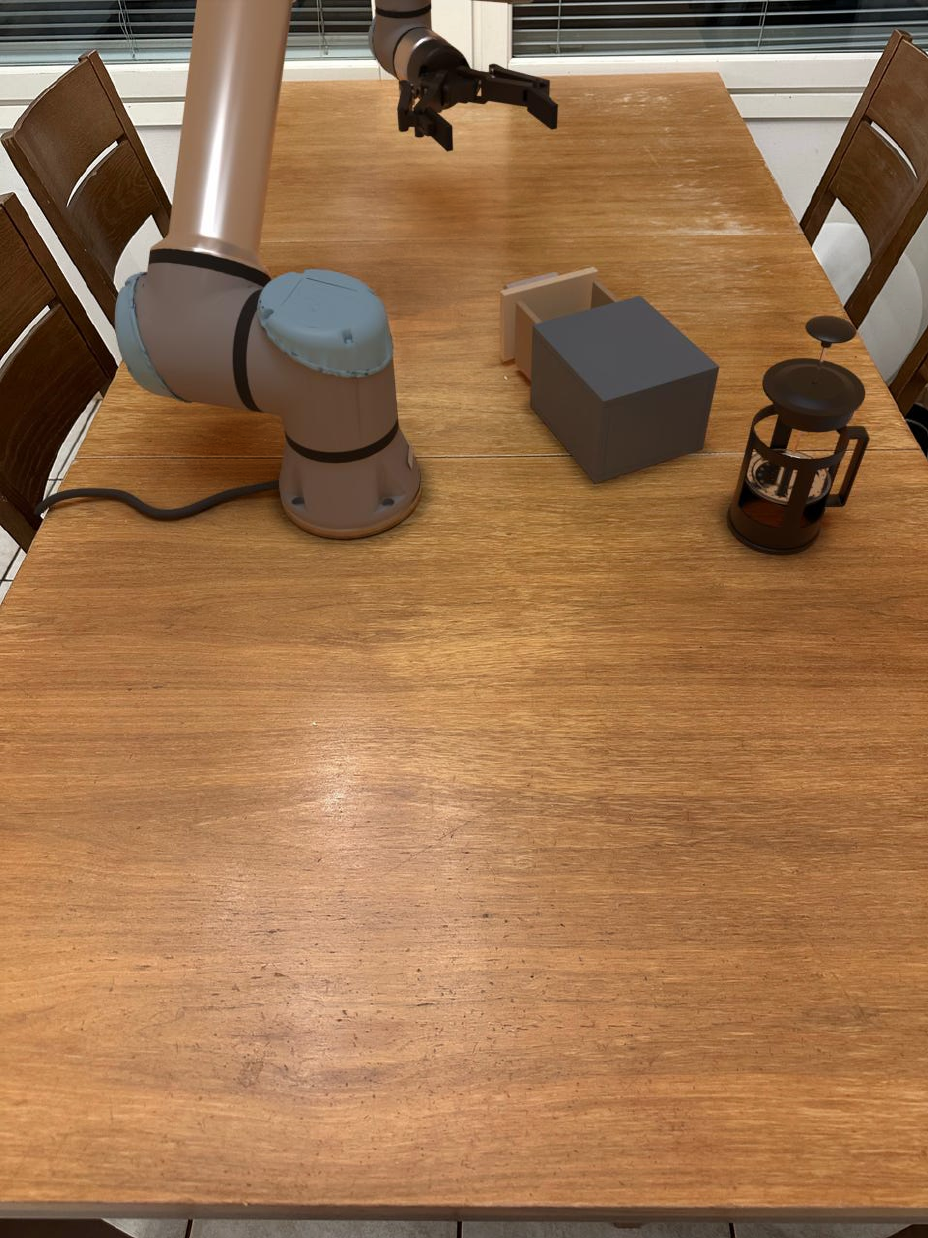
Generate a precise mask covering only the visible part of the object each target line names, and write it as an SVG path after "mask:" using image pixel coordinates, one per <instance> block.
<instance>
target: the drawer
mask: <svg viewBox="0 0 928 1238" xmlns="http://www.w3.org/2000/svg"><path fill="white" fill-rule="evenodd" d="M618 301H621V300H620V298H618V296H616V295H615V294H614V293H613V292H612V291H611V290H610V289H609V288H607V287H606V286H605V285H604V283H602V281H600V280H599V270H598V269H597V268H596V267H595V266H591V267H586V268H583V269H579V270H575V271H571V272H567V273H564V274H560V275H559V273H558V272H557V271H551V272H548V273H545V274H540V275H536V276H533V277H530V278H525V279H521V280H518V281H517V280H516V281H513V282H510V283H506V284H504V285H503V289H502V290H500V291H499V358H500V359H501V360H502V361H503V362H505V361H509V360H513V359H514V364H515V365H516V366H517V367H518V369H519V370H520V371H521V373H523V375H524V376H525V377H526V378H527V379H528V381H530V382H531V357H532V325H533V324H537V323H541V322H545V321H548V320H552V319H556V318H559V317H563V316H567V315H570V314H574V313H578V312H581V311H585V310H589V309H592V308H596V307H600V306H603V305H607V304H611V303H615V302H618Z"/></svg>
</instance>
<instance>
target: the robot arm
mask: <svg viewBox="0 0 928 1238" xmlns="http://www.w3.org/2000/svg"><path fill="white" fill-rule="evenodd" d="M296 1H297V0H196V5H195V15H194V22H193V31H192V39H191V47H190V54H189V55H190V56H189V64H188V72H187V81H186V87H185V95H184V96H185V97H184V103H183V104H184V105H183V113H182V121H181V129H180V139H179V145H178V154H177V162H176V170H175V178H174V185H173V187H174V188H173V194H172V204H171V211H170V220H169V227H168V233H167V235H166V236H165V237H164V238H162V239H161V240H159V241H157V242H156V243H155V244H154V245H152V246H151V247H150V249H149V252H148V253H149V255H148V262H147V268H146V269H147V270H146V271H139V272H138V273H134V274H132V275H130V276H129V277H128V278H127V279H126V280H125V281H124V286H121V288H120V289H119V291H118V293H117V298H116V302H115V307H114V308H115V309H114V331H115V339H116V343H117V347H118V351H119V353H120V356H121V359H122V361H123V363H124V365H125V366H126V369H127V371H128V374H130V377H131V378H132V379H133V380H134V381H135V383H137V385H139V386H140V387H141V388H142V389H143V390H145V391H147V392H148V393H150V394H152V395H156V396H159V397H165V398H170V399H174V400H176V401H178V402H180V403H181V402H182V403H185V404H193V403H194V404H195V403H196V404H201V405H202V404H203V405H209V406H216V407H222V408H228V409H235V410H242V411H247V412H254V413H261V414H267V415H274V416H278V417H280V419H281V423H282V427H283V432H284V436H285V445H284V450H283V455H282V461H281V468H280V471H279V478H278V479H274V480H269V481H264V482H260V483H254V484H249V485H244V486H239V487H235V488H230V489H226V490H224V491H220V492H218V493H216V494H213V495H210V496H208V497H206V498H203V499H201V500H198V501H196V502H194V503H191V504H188V505H185V506H182V507H178V508H170V509H169V508H167V509H166V508H157V507H154V506H151V505H149V504H147V503H145V502H144V501H143V500H141V499H139V498H138V497H137V496H135V495H133V494H131V493H130V492H127V491H125V490H122V489H118V488H117V489H116V488H106V487H105V488H103V487H79V488H70V489H65V490H60V491H58V492H55V493H53V494H51V495H49V496H47V497H46V498H44V499H42V501H40V502H39V503H38V504H37V505H36V507H35V508H34V510H33V514H34V515H42V514H45V512H46V511H47V510H48V509H49V508H50V507H52V506H54V505H56V504H58V503H60V502H63V501H67V500H70V499H78V498H79V499H80V498H105V499H117V500H121V501H123V502H126V503H127V504H129V505H131V506H132V507H133V508H135V509H136V510H138V511H139V512H140V513H142V514H144V515H146V516H149V517H151V518H156V519H163V520H165V519H167V520H168V519H169V520H171V519H180V518H183V517H184V518H185V517H188V516H191V515H193V514H197V513H199V512H201V511H203V510H205V509H209V508H210V507H212V506H215V505H218V504H220V503H223V502H226V501H228V500H232V499H236V498H241V497H245V496H251V495H255V494H260V493H265V492H270V491H275V490H278V492H279V497H280V501H281V506H282V509H283V511H284V513H285V515H286V516H287V518H288V519H289V520H290V521H291V522H292V523H293V524H295V525H296V526H297V527H299V528H300V529H302V530H304V531H305V532H308V533H310V534H312V535H315V536H318V537H323V538H329V539H339V540H340V539H341V540H350V539H359V538H364V537H370V536H373V535H376V534H380V533H382V532H385V531H388V530H389V529H391V528H393V527H395V526H396V525H398V524H400V523H402V522H403V520H405V519H406V518H407V517H408V516H409V515H410V514H411V513H412V512H413V511H414V509H415V508H416V506H417V505H418V503H419V501H420V498H421V495H422V477H421V476H422V475H421V469H420V466H419V463H418V460H417V458H416V456H415V453H414V447H413V446H414V445H413V444H412V442H411V441H409V442H408V441H407V438H406V436H405V435H404V433H403V431H402V428H401V427H400V422H399V410H398V399H397V387H396V377H395V374H396V373H395V365H394V341H393V336H392V333H391V331H390V329H391V328H390V324H389V319H388V312H387V309H386V307H385V304H384V301H382V299H381V298H380V297H379V296H378V295H377V293H376V292H375V290H374V289H372V288H371V287H370V286H369V285H367V284H366V282H365V283H364V282H363V281H362V280H360V279H358V278H357V277H353V276H351V275H348V274H346V273H343V272H339V271H334V270H329V269H319V268H309V269H308V268H307V269H304V270H303V272H302V273H300V272H297V271H294V270H293V271H289V272H286V273H283V274H279V276H276V277H275V278H273V279H272V274H271V272H270V271H269V269H268V268H267V267H266V265H265V264H264V263H263V261H262V259H261V256H260V249H261V248H260V247H261V240H262V233H263V226H264V218H265V211H266V203H267V195H268V188H269V181H270V180H269V179H270V175H271V174H270V172H271V166H272V160H273V159H272V158H273V151H274V145H275V144H274V142H275V137H276V136H275V135H276V127H277V121H278V114H279V113H278V112H279V106H280V99H281V90H282V84H283V76H284V68H285V62H286V54H287V53H286V52H287V46H288V39H289V30H290V24H291V18H292V17H291V15H292V8H293V3H295V2H296ZM471 1H473V2H474V1H475V2H484V3H485V2H487V3H498V4H499V3H500V4H507V5H510V6H512V5H513V4H530V3H532V2H534V0H471ZM374 7H375V9H374V17H373V19H372V21H371V23H370V26H369V28H368V33H367V34H368V35H367V40H368V46H369V50H370V52H371V54H372V56H373V58H374V59H375V60H376V61H377V63H378V64H379V65H380V67H381V68H382V69H383V71H385V72H386V73H387V74H389V75H391V76H393V77H394V78H395V79H396V80H397V81H398V93H399V94H398V95H399V99H398V103H397V108H396V112H397V127H398V131H399V132H401V133H406V132H408V131H409V130H410V128H413V129H414V137H415V138H417V139H421V138H424V137H428V138H429V137H431V138H432V139H433V140H434V141H435V142H436V143H437V144H439V146H440V147H441V148H443V149H444V150H445V151H446V152H452V151H454V134H453V133H454V131H453V125H452V124H451V123H450V122H449V121H447V120H446V119H445V118H444V117H443V116H442V115H441V114H442V112H443V111H445V110H449V109H451V108H453V107H455V106H456V105H457V104H465V105H466V104H468V103H471V104H476V105H477V104H478V105H486V104H487V103H489V102H492V103H497V104H498V103H499V104H505V105H510V106H512V105H513V106H518V107H525V108H526V112H528V113H529V114H530V115H531V116H533V117H534V118H535V119H536V120H538V121H539V122H540V123H542V124H543V125H544V126H545V127H547V128H548V129H550V130H551V131H553V130H558V116H559V115H558V114H559V104H558V103H557V102H556V101H554V100H553V99H552V97H551V96H550V95H551V94H550V91H551V80H550V79H547V78H543V77H540V76H535V75H532V74H527V73H525V72H520V71H517V70H512V69H508V68H506V67H504V66H501V65H499V64H496V63H489V64H488V71H484V70H478V69H474V68H472V67H471V66H470V63H469V62H468V60H467V58H466V56H465V55H464V54H463V52H461V50H459V49H458V48H457V47H455V46H454V45H453V44H451V43H450V42H449V41H448V40H447V39H445V38H444V37H443V36H442V35H440V34H438V33H437V32H436V31H434V30H433V23H432V8H433V7H432V0H374ZM479 92H480V95H478V94H479ZM417 99H418V101H417V103H416V100H417Z"/></svg>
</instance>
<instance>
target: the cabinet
mask: <svg viewBox="0 0 928 1238" xmlns="http://www.w3.org/2000/svg"><path fill="white" fill-rule="evenodd" d="M719 371H720V365H719V364H717V363H716V362H715V361H714V360H713V359H712V358H711V357H709V356H708V355H707V354H706V353H705V351H703V350H702V349H701V348H700V347H699V346H697V345H696V344H695V343H694V341H692V340H691V339H690V338H688V337H687V336H686V334H684V333H683V332H682V331H681V330H680V329H678V327H676V326H675V325H674V324H673V323H672V322H670V320H669V319H667V317H665V316H664V315H663V314H662V313H661V312H660V311H658V310H657V309H656V308H655V307H654V306H653V305H651V303H649V302H648V300H646V299H645V298H644V297H643V296H642V295H637V296H633V297H630V298H626V299H622V300H620V301H618V302H615V303H611V304H607V305H603V306H600V307H596V308H592V309H589V310H585V311H581V312H578V313H574V314H570V315H567V316H563V317H559V318H556V319H552V320H548V321H545V322H541V323H537V324H533V325H532V357H531V381H530V390H529V391H530V392H529V406H530V408H531V409H532V410H533V411H534V412H535V414H536V415H537V416H538V417H539V418H540V420H541V421H542V423H544V424H545V426H546V427H547V428H548V430H549V431H550V432H551V433H552V434H553V435H554V436H555V438H556V439H557V441H558V442H559V443H560V444H561V445H562V446H563V447H564V448H565V450H566V451H567V452H568V454H570V456H571V457H572V458H573V459H574V460H575V462H576V463H577V464H578V465H579V467H580V468H581V469H582V470H583V471H584V473H585V474H586V475H587V476H588V478H589V479H590V480H591V481H592V482H593V484H594V485H597V484H600V483H602V482H606V481H608V480H612V479H615V478H618V477H620V476H624V475H627V474H630V473H634V472H636V471H640V470H642V469H646V468H649V467H652V466H655V465H658V464H661V463H664V462H667V461H670V460H673V459H676V458H677V459H678V458H680V457H682V456H686V455H689V454H691V453H695V452H698V451H701V450H703V449H704V444H705V440H706V434H707V429H708V424H709V420H710V415H711V410H712V405H713V401H714V396H715V390H716V385H717V381H718V376H719Z"/></svg>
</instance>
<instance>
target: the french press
mask: <svg viewBox="0 0 928 1238" xmlns="http://www.w3.org/2000/svg"><path fill="white" fill-rule="evenodd" d="M804 327H805V331H806V333H807V334H808V335H809V336H810V337H811V338H813V339H814V340H817V341H820V346H821V347H822V349H821V353H820V356H819V359H818V358H811V357H798V358H796V357H795V358H790V359H785V360H782V361H779V362H776V363H774V364H773V365H771V366H770V367H769V368H768V369H766V371H765V373H764V375H763V376H762V381H761V382H762V384H761V385H762V390H763V392H764V394H765V396H766V397H767V399H769V400H770V402H771V404H769V405H768V404H767V405H766V406H764V407H762V408H760V409H759V410H758V411H757V412H756V413H755V415H754V416H753V418H752V421H751V425H750V429H749V434H748V439H747V441H746V446H745V450H744V454H743V459H742V462H741V467H740V470H739V475H738V478H737V483H736V486H735V489H734V493H733V497H732V501H731V503H730V505H729V507H728V509H727V513H726V524H727V527H728V529H729V531H730V533H731V534H732V536H733V537H734V538H736V539H737V541H738V542H740V543H742V545H745V546H746V547H748V548H750V549H752V550H753V551H754V550H755V551H757V552H759V553H763V554H767V555H768V554H769V555H776V556H786V555H787V556H788V555H795V554H799V553H802V552H804V551H806V550H808V549H809V548H811V547H812V546H813V545H814V544H815V543H816V542H817V540H818V538H819V536H820V533H821V528H822V527H821V523H822V521H823V518H824V516H825V511H826V508H844V507H845V506H846V504H847V502H848V500H849V496H850V494H851V491H852V488H853V485H854V483H855V480H856V477H857V474H858V472H859V469H860V466H861V465H862V461H863V459H864V455H865V453H866V450H867V449H868V445H869V443H870V436H869V433H868V430H867V428H866V427H865V426H864V425H848V424H849V423H850V421H852V418H853V417H854V414H855V412H856V411H857V410H859V409H860V408H861V407H862V405H863V403H864V401H865V399H866V388H865V385H864V383H863V382H862V380H861V379H860V378H859V377H858V376H857V375H856V373H854V372H853V371H851V370H850V369H848V368H846V367H844V366H842V365H839V364H837V363H835V362H831V361H829V360H825V357H826V353H827V350H828V349H830V348H831V347H832V345H833V344H844V343H847V342H850V341H853V340H854V338H856V336H857V329H856V327H855V325H854V324H853V323H851V322H850V321H849V320H846V319H845V318H842V317H839V316H834V315H818V316H814V317H812V318H810V319H808V320H807V322H806V323H805V326H804ZM772 416H777V419H776V422H775V425H774V430H773V431H772V432H773V433H772V436H771V439H770V444H769V446H768V445H767V444H765V443H764V442H763V440H761V438H760V437H759V436H758V434H757V432H756V430H755V426H756V425H758V423H759V422H761V421H763V420H764V419H767V418H769V417H772ZM793 430H796V431H797V434H796V438H795V441H794V444H793V448H792V449H788V446H789V442H790V439H791V435H792V432H793ZM834 431H836V432H837V434H838V435H839V436H838V439H837V442H836V445H835V449H834V452H833V454H831V455H828V456H824V457H818V458H814V457H813V456H811V455H809V454H806V453H804V452H801V451H798V450H797V449H798V446H799V443H800V440H801V436H802V433H803V432H805V433H815V434H819V433H820V434H821V433H828V432H834ZM854 440H856V444H855V446H854V448H853V452H852V455H851V457H850V460H849V463H848V466H847V468H846V472H845V474H844V477H843V480H842V482H841V486H840V488H839V491H838V493H831V491H832V489H833V486H834V484H835V483H834V482H835V479H836V476H837V474H838V472H839V468H840V465H841V463H842V459H843V458H844V456H845V454H846V452H847V450H848V446H849V444H850V441H854ZM754 451H755V452H756V453H754ZM761 500H762V501H764V502H767V503H769V504H772V505H774V506H778V507H782V508H783V507H784V508H785V510H784V513H783V517H782V519H781V522H780V526H779V527H778V526H772V525H768V524H766V523H763V522H760V521H758V520H756V519H754V518H753V517H751V516H750V515H748V513H746V511H744V510H743V509H744V508H745V507H746V506H747V505H749V504H750V503H751V504H752V503H753V502H757V501H761ZM803 516H804V518H805V521H806V525H804V526H800V523H801V520H802V518H803Z"/></svg>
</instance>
